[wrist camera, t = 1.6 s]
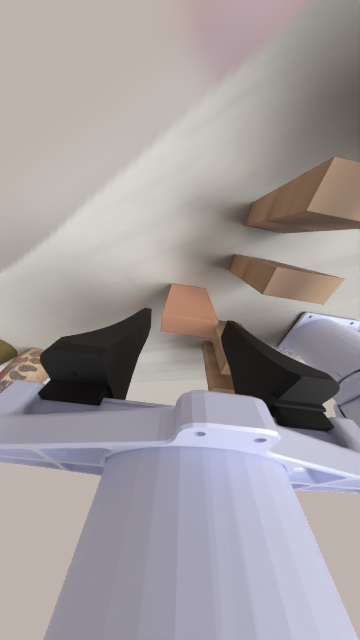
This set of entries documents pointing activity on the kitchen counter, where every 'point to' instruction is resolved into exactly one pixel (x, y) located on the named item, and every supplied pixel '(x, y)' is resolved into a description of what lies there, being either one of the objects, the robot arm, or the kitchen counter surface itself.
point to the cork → (6, 352)
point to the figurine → (23, 369)
